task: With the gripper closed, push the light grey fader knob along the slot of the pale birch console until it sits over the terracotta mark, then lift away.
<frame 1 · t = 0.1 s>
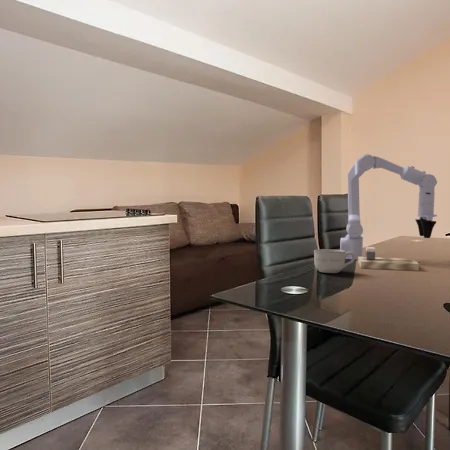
hand: (424, 237, 165), 10 cm above the table, tool pointing down, fingers open, 7 cm apart
fader: (370, 253, 155), point 5 cm above the table, slide at 0.0 cm
console: (386, 266, 154), on the table
teacup: (333, 273, 142), on the table
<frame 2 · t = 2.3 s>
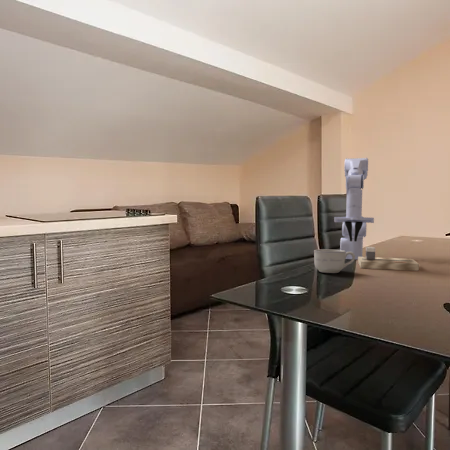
hand: (353, 241, 156), 9 cm above the table, tool pointing down, fingers closed
nothing on the table moved.
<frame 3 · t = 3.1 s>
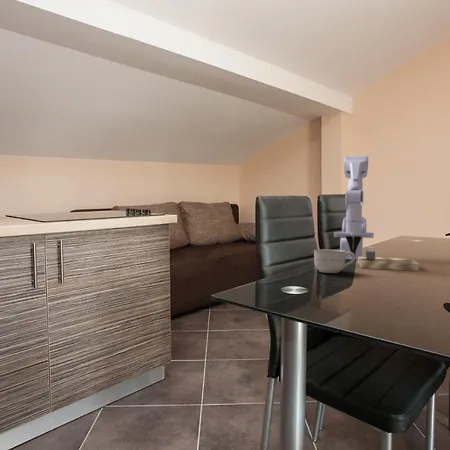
hand: (352, 255, 156), 4 cm above the table, tool pointing down, fingers closed
nothing on the table moved.
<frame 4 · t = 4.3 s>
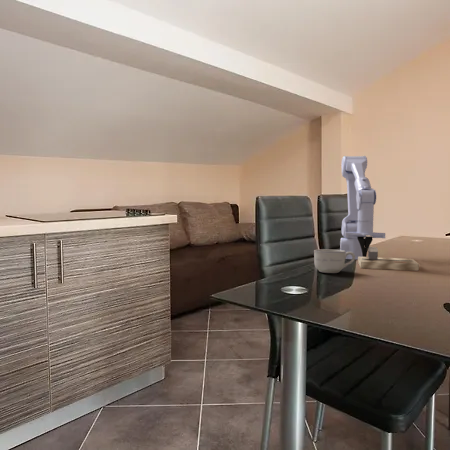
hand: (364, 256, 155), 4 cm above the table, tool pointing down, fingers closed
fader: (372, 253, 155), point 5 cm above the table, slide at 0.9 cm, touching gripper
everything else where it was.
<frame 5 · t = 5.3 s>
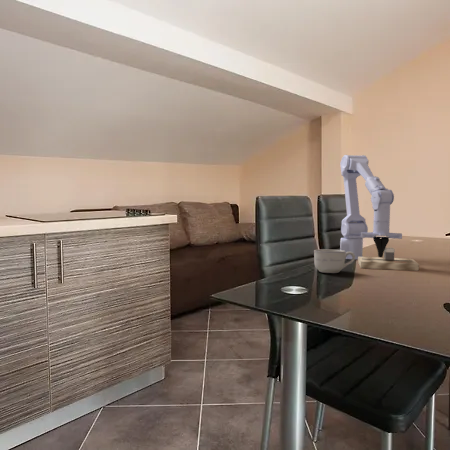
hand: (380, 256, 154), 4 cm above the table, tool pointing down, fingers closed
fader: (389, 253, 153), point 5 cm above the table, slide at 6.7 cm, touching gripper
everything else where it was.
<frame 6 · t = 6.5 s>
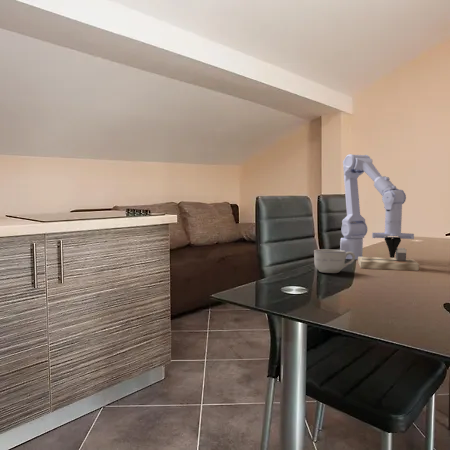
hand: (391, 257, 153), 4 cm above the table, tool pointing down, fingers closed
fader: (400, 254, 152), point 5 cm above the table, slide at 10.9 cm, touching gripper
everything else where it was.
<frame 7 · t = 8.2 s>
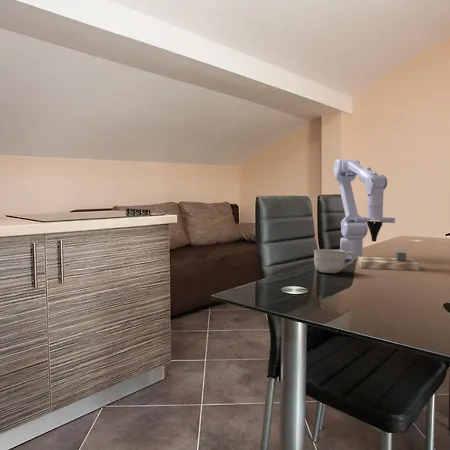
hand: (373, 241, 157), 9 cm above the table, tool pointing down, fingers closed
fader: (400, 254, 152), point 5 cm above the table, slide at 10.9 cm
everything else where it was.
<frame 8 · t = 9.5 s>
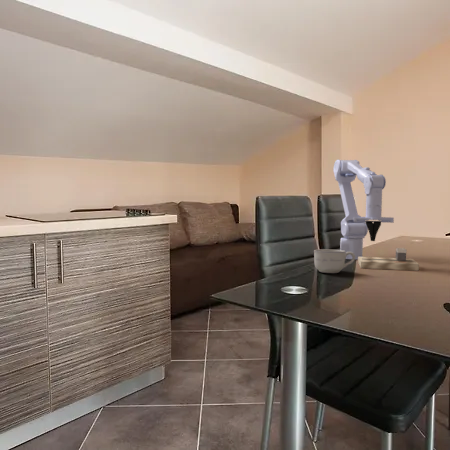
hand: (372, 240, 157), 9 cm above the table, tool pointing down, fingers closed
nothing on the table moved.
at the end: fader slide at 10.9 cm; teacup moved 0.3 cm from its start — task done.
